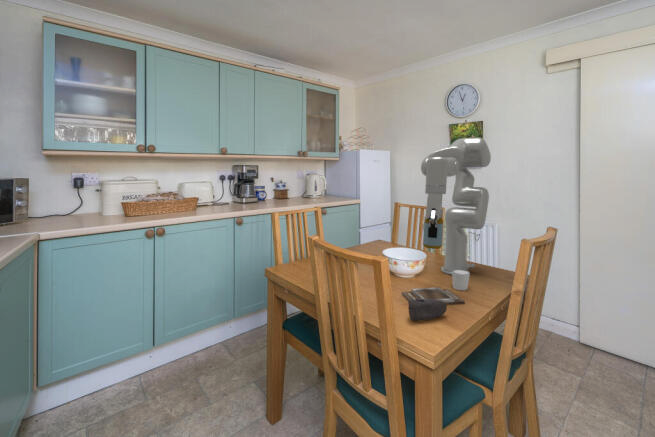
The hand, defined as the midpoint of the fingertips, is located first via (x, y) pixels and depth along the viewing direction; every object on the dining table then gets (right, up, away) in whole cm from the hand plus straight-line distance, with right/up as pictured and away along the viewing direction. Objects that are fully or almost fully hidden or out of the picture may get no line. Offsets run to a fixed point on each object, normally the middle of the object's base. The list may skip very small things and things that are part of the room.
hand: (433, 235), depth 123 cm
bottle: (0, -5, +1) cm, 5 cm away
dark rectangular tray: (-1, -25, -1) cm, 25 cm away
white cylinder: (+15, -23, +10) cm, 29 cm away
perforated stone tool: (-8, -27, -16) cm, 33 cm away
